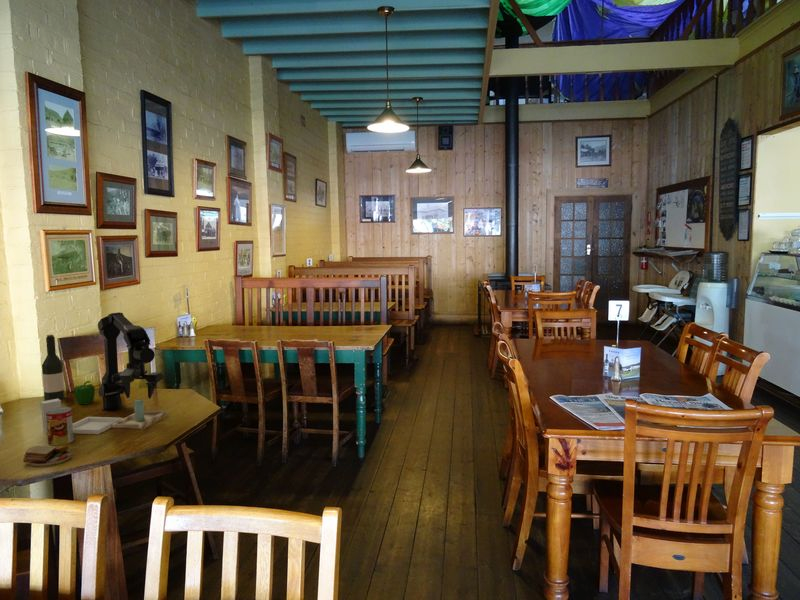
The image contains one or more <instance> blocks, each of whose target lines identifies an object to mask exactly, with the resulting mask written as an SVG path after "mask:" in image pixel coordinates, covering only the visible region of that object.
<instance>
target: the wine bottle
mask: <svg viewBox="0 0 800 600" xmlns="http://www.w3.org/2000/svg"><path fill="white" fill-rule="evenodd" d="M45 342H46V343H45V344H46V354H47V355H46V357H45V359H44V360H43V363H42V364H41V370H42V383H43V384H42V385H43V397H44V401H48V400H53V399H59V400H61V401H62V400H65V398H66V392H65V379H64V365H63V364H64V363H63V361H62V360H61V359H60V357H59V356H58V355H57V350H56V339H55V336H54V334H47V335H46V337H45Z"/></svg>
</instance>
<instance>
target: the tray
mask: <svg viewBox="0 0 800 600" xmlns="http://www.w3.org/2000/svg"><path fill="white" fill-rule="evenodd" d="M165 415H166V416H167V411H165V410H144V417H145V420H144V421H141V422H136V421H135V412H134V413H133V412H132V414H129V415H127V416H126V417H124V418H123V417H122V418H123V419H121V420H120V421H118V422H116V423H114V424H112V427H111V428H112V429H114V428H115V429H135V430H136V429H139V430H140V429H142V430H143V429H145V428H147V427H149V426H150V425H149V424H151V423H152V424H154V423H156V422H157V421H156V420H158V419H159V420H161V419H162V417H163V418H164V416H165ZM166 416H165V417H166ZM160 418H161V419H160ZM159 420H158V421H159ZM155 421H156V422H155ZM153 422H154V423H153ZM152 424H151V425H152ZM148 425H149V426H148ZM146 426H147V427H146ZM144 427H145V428H144Z"/></svg>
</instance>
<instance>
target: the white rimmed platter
mask: <svg viewBox="0 0 800 600" xmlns="http://www.w3.org/2000/svg"><path fill="white" fill-rule="evenodd" d="M121 419H123V417H113V416H112V417H108V416H107V417H106V416H104V417H103V416H86V417H85V418H82V419H80V420H78V421H76V422H72V424H73V434H80V435H81V434H83V435H85V434H87V435H99V434H101V433H103V432H105V431H108V430H110V429H111V428H112V424H114V423H116V422H118V421H120V420H121Z"/></svg>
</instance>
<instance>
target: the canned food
mask: <svg viewBox="0 0 800 600" xmlns="http://www.w3.org/2000/svg"><path fill="white" fill-rule="evenodd" d="M46 420H47V433H46V434H47V443H48V446H49V445H50V446H49V447H59V446H62V445H65V444H66V445H67V444H69V443H71V442H74V433H73V409H72V408H71V407H69V406H63V407H62V406H61V407H60V408H54V409H50V410H48V411H46Z"/></svg>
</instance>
